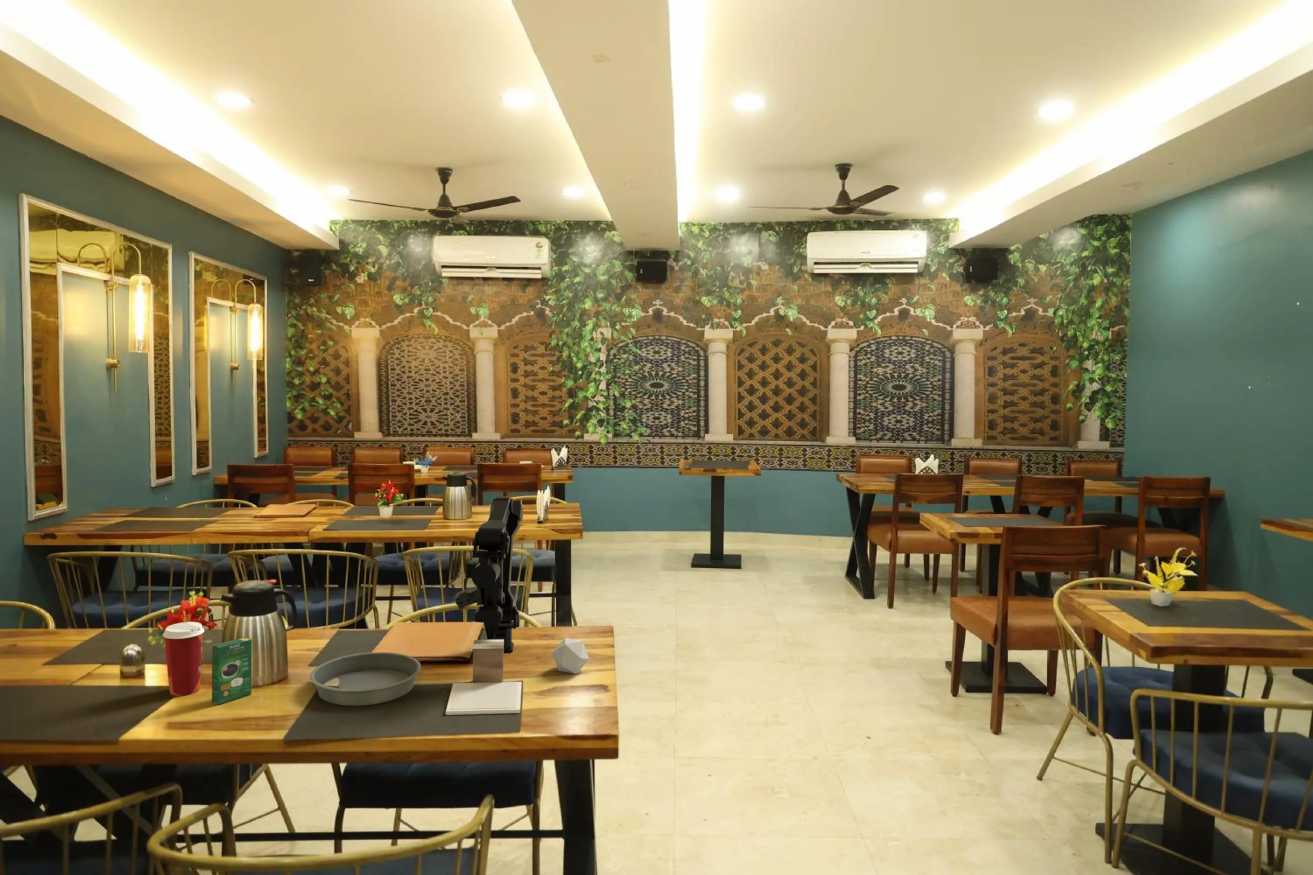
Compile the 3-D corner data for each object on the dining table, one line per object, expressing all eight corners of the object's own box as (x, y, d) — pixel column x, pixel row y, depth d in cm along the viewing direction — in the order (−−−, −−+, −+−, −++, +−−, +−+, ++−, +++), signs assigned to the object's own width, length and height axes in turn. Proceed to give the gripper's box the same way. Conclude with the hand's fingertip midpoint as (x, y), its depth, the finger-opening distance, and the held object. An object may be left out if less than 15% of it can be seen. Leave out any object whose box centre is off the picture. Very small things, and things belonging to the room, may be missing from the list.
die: (594, 671, 213) (582, 635, 217) (589, 665, 205) (577, 628, 209) (563, 682, 212) (553, 646, 216) (557, 677, 205) (546, 640, 208)
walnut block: (473, 679, 203) (474, 639, 202) (503, 679, 204) (503, 639, 203) (472, 686, 199) (473, 645, 198) (502, 685, 200) (503, 644, 199)
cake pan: (371, 662, 213) (371, 644, 213) (442, 682, 201) (443, 664, 201) (286, 693, 192) (286, 674, 192) (360, 718, 180) (360, 698, 179)
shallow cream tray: (453, 686, 198) (453, 682, 198) (521, 685, 201) (521, 681, 200) (445, 714, 182) (445, 710, 182) (519, 712, 185) (520, 708, 185)
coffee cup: (213, 687, 193) (212, 623, 192) (183, 700, 186) (181, 634, 184) (186, 681, 196) (184, 619, 195) (154, 694, 188) (153, 629, 187)
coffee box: (245, 691, 192) (245, 635, 191) (253, 694, 190) (252, 637, 189) (211, 702, 185) (210, 644, 184) (218, 705, 183) (217, 647, 182)
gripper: (460, 568, 213) (460, 628, 214) (453, 587, 195) (452, 653, 196) (505, 568, 215) (504, 627, 216) (502, 587, 196) (500, 652, 198)
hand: (489, 639), depth 206 cm, fingers closed
